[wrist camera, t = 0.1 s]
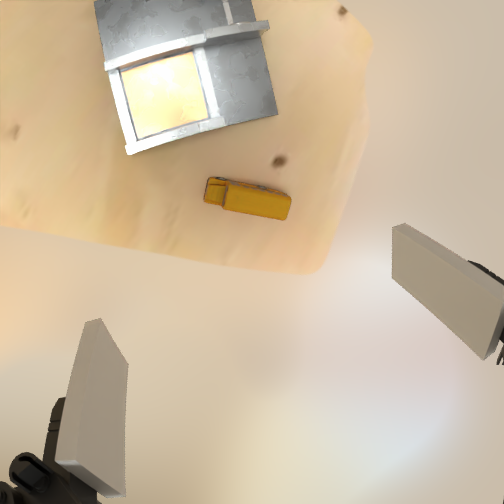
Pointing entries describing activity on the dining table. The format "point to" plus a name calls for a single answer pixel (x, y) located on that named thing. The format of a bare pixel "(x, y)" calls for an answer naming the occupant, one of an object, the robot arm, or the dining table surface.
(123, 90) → the plate
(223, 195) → the toy bus
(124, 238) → the dining table surface
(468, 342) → the robot arm
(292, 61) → the dining table surface
